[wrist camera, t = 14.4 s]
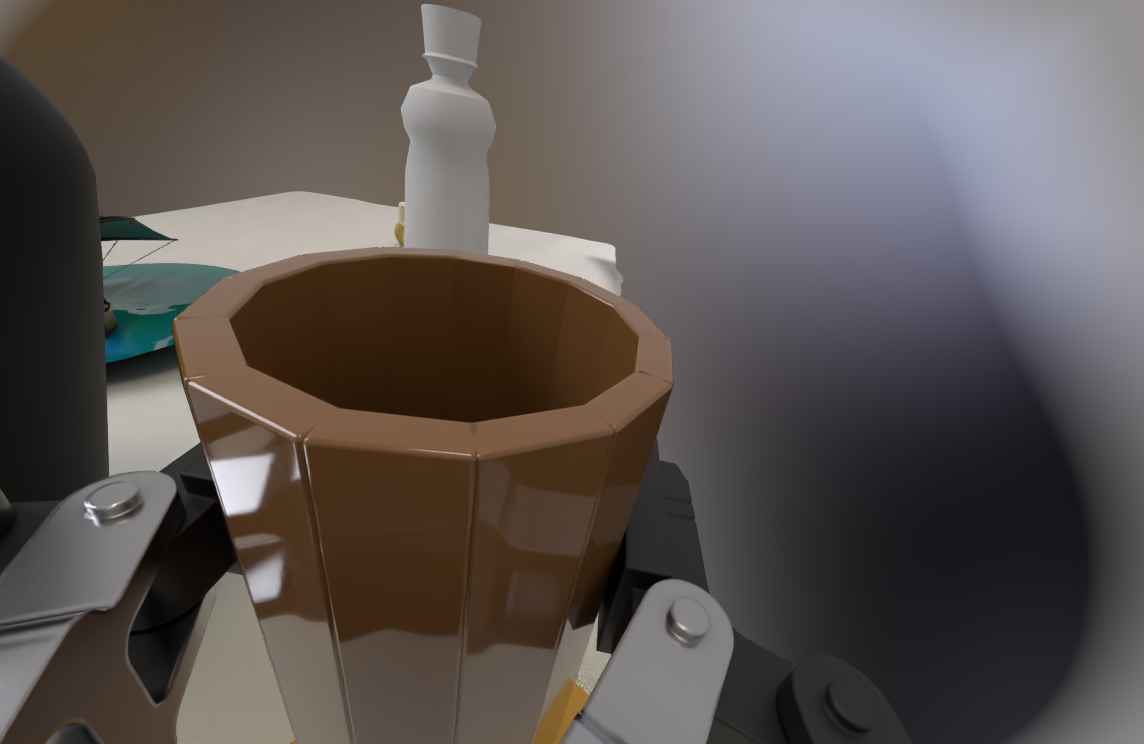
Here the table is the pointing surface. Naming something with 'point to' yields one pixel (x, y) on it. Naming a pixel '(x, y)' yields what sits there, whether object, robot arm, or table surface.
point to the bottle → (447, 140)
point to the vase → (48, 303)
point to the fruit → (399, 233)
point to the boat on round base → (147, 293)
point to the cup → (423, 479)
